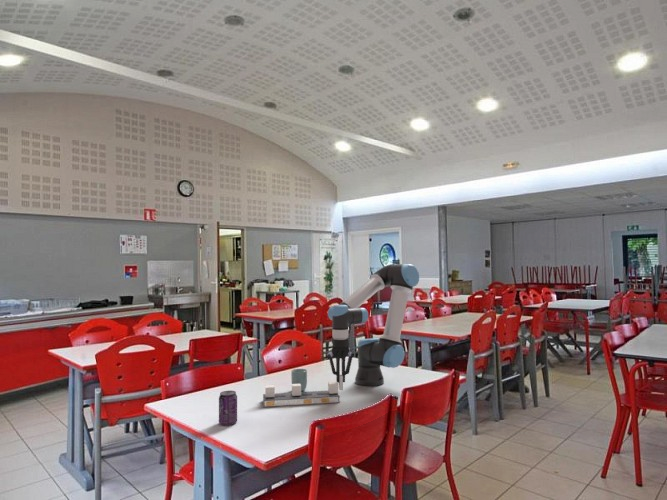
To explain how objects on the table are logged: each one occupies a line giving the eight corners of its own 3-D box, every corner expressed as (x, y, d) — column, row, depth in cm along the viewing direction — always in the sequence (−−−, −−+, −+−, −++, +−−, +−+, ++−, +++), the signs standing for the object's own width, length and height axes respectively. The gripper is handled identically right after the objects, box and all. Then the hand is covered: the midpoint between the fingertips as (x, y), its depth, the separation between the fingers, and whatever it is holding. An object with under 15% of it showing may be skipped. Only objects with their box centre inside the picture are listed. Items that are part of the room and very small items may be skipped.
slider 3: (336, 390, 210) (336, 381, 210) (338, 393, 206) (338, 383, 206) (328, 391, 209) (328, 382, 209) (329, 393, 205) (329, 384, 205)
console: (335, 396, 213) (335, 389, 213) (339, 402, 202) (339, 395, 202) (263, 400, 207) (263, 393, 207) (263, 407, 197) (263, 400, 197)
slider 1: (274, 394, 205) (274, 384, 205) (274, 396, 201) (274, 387, 201) (265, 394, 204) (265, 385, 204) (265, 397, 200) (265, 387, 201)
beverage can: (220, 420, 180) (220, 390, 181) (238, 419, 181) (238, 389, 181) (217, 426, 173) (217, 395, 174) (236, 426, 174) (235, 394, 174)
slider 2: (300, 392, 207) (300, 383, 207) (301, 395, 203) (301, 385, 203) (291, 393, 206) (291, 384, 206) (292, 395, 202) (292, 386, 203)
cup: (304, 393, 219) (304, 372, 220) (289, 392, 221) (289, 371, 221) (308, 388, 227) (308, 368, 227) (294, 388, 228) (293, 368, 229)
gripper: (352, 336, 214) (352, 386, 213) (325, 337, 212) (325, 388, 211) (355, 339, 206) (356, 390, 205) (327, 339, 204) (328, 392, 203)
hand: (340, 389), depth 208 cm, fingers closed
